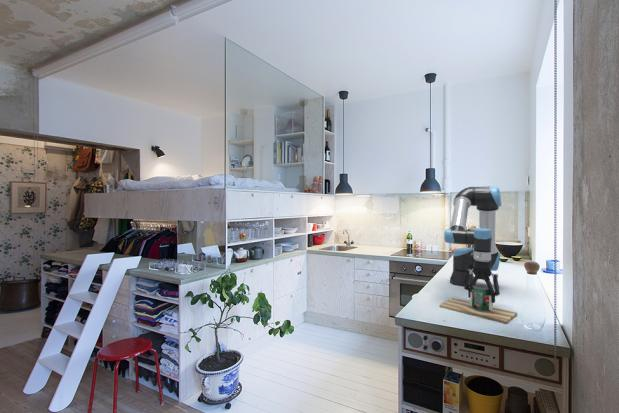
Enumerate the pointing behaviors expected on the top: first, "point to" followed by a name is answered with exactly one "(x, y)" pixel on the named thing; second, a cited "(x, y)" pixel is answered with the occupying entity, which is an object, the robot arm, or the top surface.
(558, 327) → the top surface
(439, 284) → the top surface
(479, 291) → the canned tomato
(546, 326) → the top surface
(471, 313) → the board
